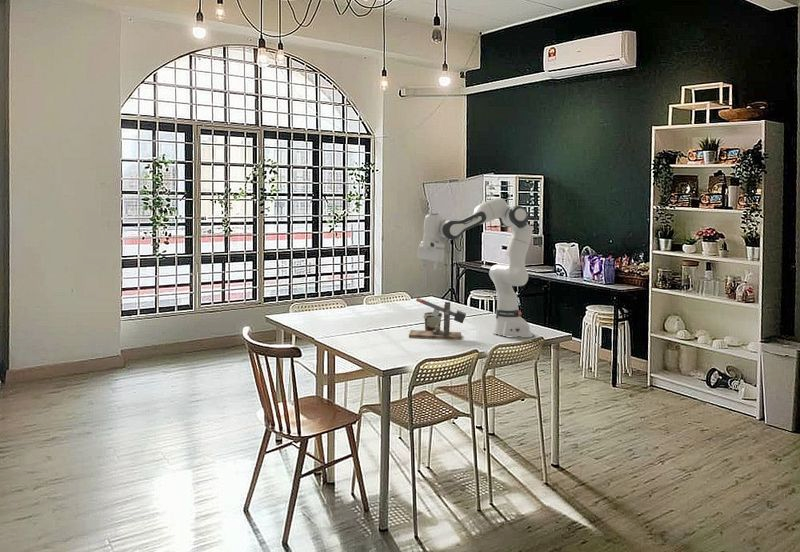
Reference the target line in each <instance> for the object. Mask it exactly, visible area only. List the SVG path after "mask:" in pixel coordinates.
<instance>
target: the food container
mask: <svg viewBox="0 0 800 552" xmlns="http://www.w3.org/2000/svg"><path fill="white" fill-rule="evenodd" d="M432 313H433V311H429V312H424V314H423V319H424V331H433V330H435V327H436V326H437V325H438V326H440V327H441V322H442V317H443V314H442V313H443V312H439V314H438V316H437V317H434V316H432Z"/></svg>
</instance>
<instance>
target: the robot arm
mask: <svg viewBox="0 0 800 552" xmlns="http://www.w3.org/2000/svg"><path fill="white" fill-rule="evenodd" d="M496 219H498V220H499V221H500V223H501V224H502V226H504V227H506V228H512V229H511V230H512V233H511V236H510V239H509V242H508V245H507V247H506V250H505V252H506V253H505V254H506V256H507V257H508V264H505V263H497V264H493V265H492V266H491V267H490V269H489V273H488V274H489V278H490V279H491V281H492V282H493V284H494V286H495V291H496V309H495V324H494V329H493V332H492V334H494V335H496V334H498V335H497V336H500V335H503V336H521V337H520V338H533V337H534V336H533V335H534V332H533V331H531V330H530V324H529V323H528V322H527V321H526V320H525V319H524V318H522V316H521V315H522V312H521V310H519V309H518V294H517V293H516V292H515V290H514V288H513V287H523V286H525V285H526V284H527V283H528V281H529V273H528V270H527V269H526V257H527V253H528V250H529V248H530V244H531V241H532V236H533V228H532V226H531V225H530V224H529V213H528V210H527V209H526V207H524V206H522V205H514V206H510V205H508V203H507V201H506V200H505V199H504V198H502V197H497V198H494V199H493V198H492V199H490V200H487V201H484V202H482V203H480V204H479V205H477V206H475V207H474V209H473V213H472V214H471V215H469V216H467V217H464V218H462V219H460V220H449V219H447V218H446V217H443V216H442V215H441V214H440V213H438V212H437V213H436V212H434V213H428V214H426V215H425V218H424V221H423V235H422V241H421V242H420V243H419V244H418V247H417V253H416V254H417V255H416V256H417V259H420V260H421V261H420V262H421V264H422V266H421V267H422V268H427V266H428V265H427V262H426V261H433V263H434V264H433V265H432V269H433V270H437V268H438V265H439V262H441V263H442V262H443V261H444V260H445V259H444V258H445V249H444V248H445V245H446V244H445V243H444V242H442V241H441V240H440V237H442V238H446V239H448V240H457V239H459V238H460V237H461V236H462V235H463V233H465V232H467V231H468V230H470V229H473V228H474V227H475V228H476V227H477V226H479V225H483V224H486V223H489V222H492V221H495V220H496ZM503 336H502V337H503ZM532 336H533V337H532Z"/></svg>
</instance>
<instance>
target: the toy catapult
mask: <svg viewBox="0 0 800 552" xmlns="http://www.w3.org/2000/svg"><path fill="white" fill-rule="evenodd" d="M443 308H444V312H443V330H442V329H441V325H440V326H438V325H437V326H436V327H435V330H433V331H425V330H420V329H411V330H410V332H409V334H408V338H410V339H411V338H415V339H417V338H418V339H436V340H457V341H459V340H460V341H461V340H462V332H461V331H450V323H451V321H450V320H451V315H450V311H451V301H450V302H449V301H444V305H443Z"/></svg>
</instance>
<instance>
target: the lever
mask: <svg viewBox="0 0 800 552" xmlns="http://www.w3.org/2000/svg"><path fill="white" fill-rule="evenodd" d="M415 302H418V303H420V304H422V305H425V306H427V307H430V308H433V311H432V312H433V313H432V316H434V317H437V316H438V314H439V313H440V312H441V313H444V307H442V306H439V305H437V304H435V303H432V302H429V301H427V300H425V299H422V298H419V297H416V300H415ZM450 316H451V317H453V321H455V322H458V323H460V324H464V320H465V319H466V316H467V314H466V312H464V311H462V310H459V309H457V310H456V312H455V311H452V310H450Z"/></svg>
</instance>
